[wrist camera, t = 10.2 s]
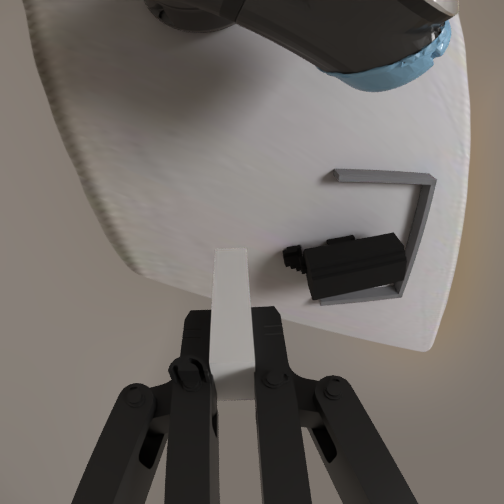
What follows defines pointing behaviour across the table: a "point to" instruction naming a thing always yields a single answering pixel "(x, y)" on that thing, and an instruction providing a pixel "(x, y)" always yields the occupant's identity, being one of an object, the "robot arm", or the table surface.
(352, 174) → the grey u-shaped frame
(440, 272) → the table surface
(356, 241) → the security camera
